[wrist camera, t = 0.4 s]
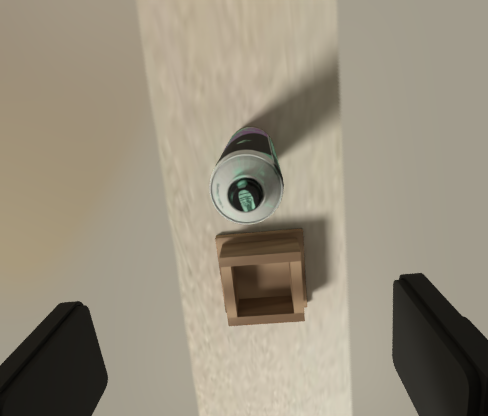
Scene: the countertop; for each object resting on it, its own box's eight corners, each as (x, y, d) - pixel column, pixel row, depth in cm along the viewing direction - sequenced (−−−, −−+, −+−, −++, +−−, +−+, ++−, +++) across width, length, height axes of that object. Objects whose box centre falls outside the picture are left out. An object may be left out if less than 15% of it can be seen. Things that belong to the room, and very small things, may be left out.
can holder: (216, 235, 46) (211, 252, 41) (302, 228, 45) (307, 244, 40) (226, 308, 49) (223, 331, 44) (306, 302, 48) (311, 326, 44)
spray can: (249, 116, 41) (242, 140, 22) (283, 148, 42) (304, 198, 23) (218, 151, 42) (186, 202, 23) (252, 181, 43) (247, 254, 24)
